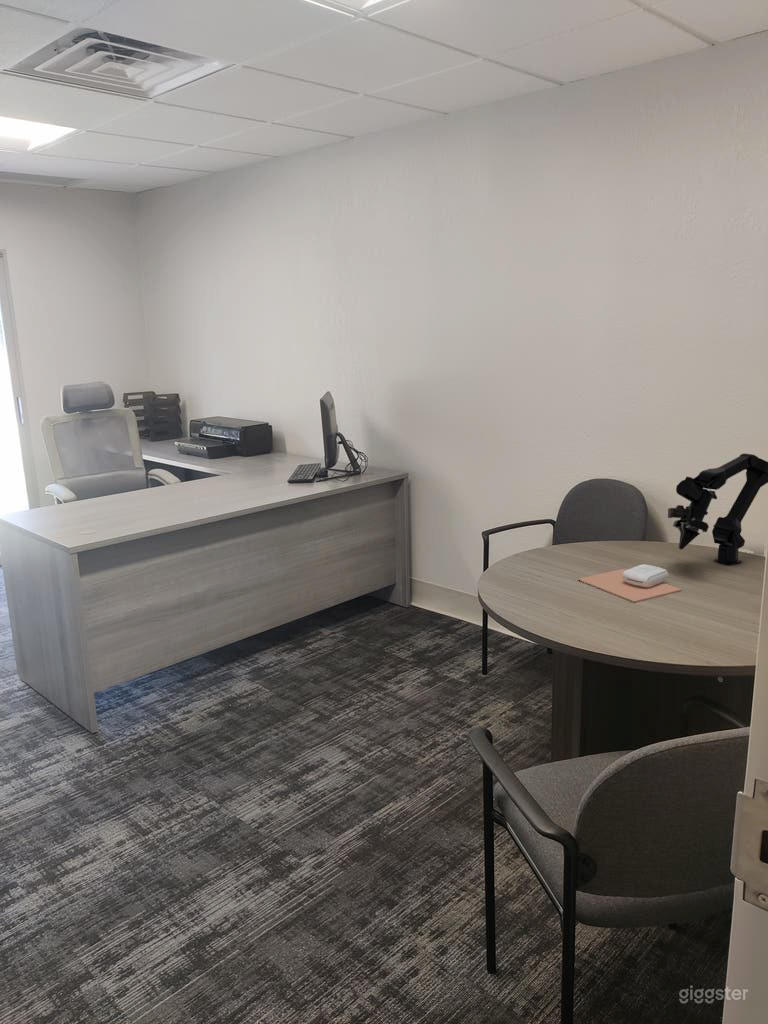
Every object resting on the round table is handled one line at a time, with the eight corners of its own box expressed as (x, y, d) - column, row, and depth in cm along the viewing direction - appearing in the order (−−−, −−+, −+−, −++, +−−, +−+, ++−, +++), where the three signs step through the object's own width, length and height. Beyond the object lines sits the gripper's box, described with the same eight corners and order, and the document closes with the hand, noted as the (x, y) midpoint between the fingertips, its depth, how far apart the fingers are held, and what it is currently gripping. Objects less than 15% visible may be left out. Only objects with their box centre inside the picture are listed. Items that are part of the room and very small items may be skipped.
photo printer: (641, 574, 259) (618, 583, 252) (641, 562, 258) (619, 570, 251) (668, 581, 251) (646, 590, 244) (669, 569, 250) (647, 577, 243)
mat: (623, 570, 266) (623, 568, 266) (681, 590, 244) (681, 589, 243) (577, 580, 258) (577, 578, 258) (634, 602, 235) (634, 601, 235)
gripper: (668, 498, 268) (650, 539, 268) (684, 495, 250) (665, 539, 250) (698, 511, 267) (680, 552, 267) (717, 508, 249) (698, 552, 249)
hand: (680, 548), depth 258 cm, fingers closed
